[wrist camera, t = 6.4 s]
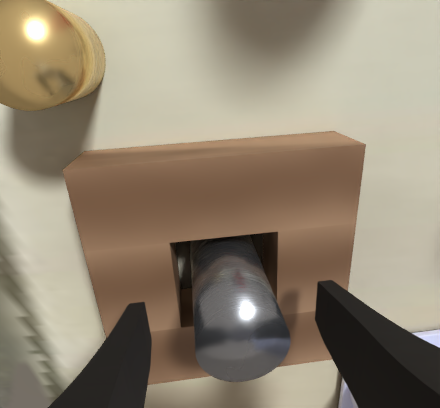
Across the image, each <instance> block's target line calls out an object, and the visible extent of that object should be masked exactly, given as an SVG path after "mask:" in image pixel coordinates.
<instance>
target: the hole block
mask: <svg viewBox="0 0 440 408" xmlns="http://www.w3.org/2000/svg"><path fill="white" fill-rule="evenodd" d="M365 147H366V144H363V143H361V142H359V141H356V140H354V139H351V138H349V137H347V136H344V135H342V134H340V133H337V132H335V131H329V132H317V133H305V134H292V135H280V136H268V137H255V138H243V139H230V140H218V141H206V142H193V143H181V144H168V145H156V146H144V147H131V148H119V149H106V150H94V151H84V152H83V153H82V154H81V155H79V156H78V157H77V158H76V159H75V160H74V161H72V162H71V163H70V164H69V165H68V166H67V167H66V168H64V169H63V174H64V178H65V182H66V186H67V190H68V193H69V197H70V201H71V205H72V209H73V212H74V216H75V220H76V224H77V228H78V232H79V235H80V239H81V243H82V247H83V251H84V254H85V258H86V262H87V266H88V270H89V274H90V277H91V281H92V285H93V289H94V293H95V296H96V300H97V304H98V308H99V312H100V316H101V319H102V323H103V327H104V331H105V335H106V339H107V337H108V336H109V334H110V333H111V331H112V330H113V328H114V327H115V325H116V323H117V322H118V320H119V319H120V317H121V315H122V314H123V312H124V310H125V309H126V307H127V306H128V305H129V303H138V302H145V306H146V311H147V317H148V322H149V327H150V333H151V338H152V348H151V366H150V372H149V378H148V385H150V384H157V383H165V382H172V381H179V380H186V379H194V378H201V377H208V376H211V375H209V374H208V373H206V372H205V371H204V370H203V369H202V368H201V366H200V365H199V363H198V361H197V359H196V354H195V338H194V318H193V298H192V288H188V289H181V285H180V277H179V269H178V262H177V254H176V246H175V242H182V241H192V240H201V239H211V238H220V237H230V236H239V235H249V234H259V233H263V269H264V271H265V274H266V276H267V279H268V281H269V284H270V286H271V288H272V291H273V293H274V296H275V298H276V301H277V303H278V305H279V308H280V310H281V313H282V315H283V318H284V320H285V322H286V325H287V327H288V330H289V333H290V338H291V341H290V348H289V351H288V353H287V355H286V357H285V358H284V360H283V361H282V362H281V363H280V364H279V365H278V366H277V367H280V366H287V365H295V364H302V363H309V362H316V361H324V360H331V359H332V357H331V355H330V353H329V351H328V350H327V348H326V346H325V344H324V342H323V339H322V337H321V334H320V332H319V329H318V327H317V324H316V321H315V310H316V297H317V284H318V281H326V280H333V281H334V282H336V283H337V284H338V285H340V286H341V287H342V288H344V289H345V290H347V291H348V284H349V276H350V268H351V260H352V252H353V244H354V236H355V228H356V219H357V211H358V203H359V195H360V187H361V179H362V171H363V163H364V155H365Z"/></svg>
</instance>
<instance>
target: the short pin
mask: <svg viewBox="0 0 440 408" xmlns="http://www.w3.org/2000/svg"><path fill="white" fill-rule="evenodd" d="M104 72H105V53H104V49H103V46H102V43H101V41H100V39H99V37H98V36H97V34H96V32H95V31H94V30H93V29H92V27H91V26H90V25H89V24H88V23H87V22H85V21H84V20H83V19H82V18H80V17H78V16H77V15H75V14H73V13H71V12H69V11H67V10H65V9H63V8H61V7H59V6H57V5H55V4H53V3H51V2H49V1H47V0H0V103H1V104H4V105H6V106H8V107H11V108H15V109H19V110H26V111H36V110H43V109H46V108H50V107H53V106H56V105H59V104H63V103H66V102H69V101H72V100H76V99H79V98H82V97H85V96H87V95H89V94H90V93H92V92H93V91H94V90H95V89H96V88H97V87H98V86H99V84H100V82H101V81H102V78H103V76H104Z"/></svg>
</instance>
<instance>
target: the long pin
mask: <svg viewBox="0 0 440 408" xmlns="http://www.w3.org/2000/svg"><path fill="white" fill-rule="evenodd" d="M190 259H191V279H192V298H193V318H194V338H195V354H196V359H197V361H198V363H199V365H200V366H201V368H202V369H203V370H204V371H205V372H206V373H208V374H209V375H211V376H213V377H215V378H217V379H220V380H224V381H230V382H242V381H249V380H253V379H256V378H259V377H261V376H264V375H266V374H267V373H269V372H271V371H272V370H274V369H275V368H276V367H277V366H278V365H279V364H280V363H281V362H282V361H283V360H284V358H285V357H286V355H287V353H288V351H289V348H290V341H291V338H290V333H289V330H288V327H287V325H286V322H285V320H284V318H283V315H282V313H281V310H280V308H279V305H278V303H277V301H276V298H275V296H274V293H273V291H272V288H271V286H270V284H269V281H268V279H267V276H266V274H265V271H264V269H263V267H262V264H261V262H260V259H259V257H258V254H257V252H256V250H255V247H254V245H253V242H252V240H251V237H250V235H239V236H230V237H220V238H211V239H201V240H192V241H191V242H190Z"/></svg>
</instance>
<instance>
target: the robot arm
mask: <svg viewBox="0 0 440 408" xmlns="http://www.w3.org/2000/svg"><path fill="white" fill-rule="evenodd" d="M315 321H316V324H317V327H318V329H319V332H320V334H321V337H322V339H323V342H324V344H325V346H326V348H327V350H328V351H329V353H330V355H331V357H332V359H333V361H334V363H335V364H336V366H337V368H338V370H339V372H340V373H341V375H342V384H341V391H340V399H339V406H338V408H440V329H439V330H431V331H424V332H417V333H410V332H408V331H407V330H405V329H403V328H401V327H400V326H398V325H396V324H395V323H393V322H392V321H390V320H388V319H387V318H385V317H384V316H382V315H381V314H379V313H378V312H376V311H375V310H373V309H372V308H370V307H369V306H367V305H366V304H365V303H363V302H362V301H360V300H359V299H358V298H356V297H355V296H353V295H352V294H351V293H349V292H348V291H347V290H345V289H344V288H342V287H341V286H340V285H338V284H337V283H336V282H334V281H333V280H326V281H318V284H317V297H316V310H315ZM151 348H152V338H151V333H150V327H149V322H148V317H147V311H146V306H145V302H138V303H129V305H128V306H127V307H126V309H125V310H124V312H123V314H122V315H121V317H120V319H119V320H118V322H117V323H116V325H115V327H114V328H113V330H112V331H111V333H110V334H109V336H108V337H107V339H106V340H105V341H104V343H103V344H102V346H101V347H100V349H99V350H98V351H97V352H96V354H95V355H94V356H93V358H92V359H91V360H90V362H89V363H88V364H87V366H86V367H85V368H84V369H83V370H82V372H81V373H80V374H79V375H78V376H77V378H76V379H75V380H74V381H73V382H72V383H71V384H70V385H69V386H68V388H67V389H66V390H65V391H64V392H63V393H62V394H61V395H60V396H59V397H58V398H57V399H56V400H55V401H54V402H53V403H52V404H51V405H50V406H49V407H48V408H144V403H145V397H146V391H147V385H148V378H149V372H150V366H151Z"/></svg>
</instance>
